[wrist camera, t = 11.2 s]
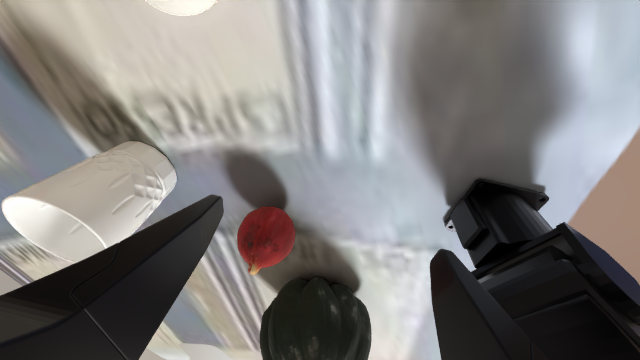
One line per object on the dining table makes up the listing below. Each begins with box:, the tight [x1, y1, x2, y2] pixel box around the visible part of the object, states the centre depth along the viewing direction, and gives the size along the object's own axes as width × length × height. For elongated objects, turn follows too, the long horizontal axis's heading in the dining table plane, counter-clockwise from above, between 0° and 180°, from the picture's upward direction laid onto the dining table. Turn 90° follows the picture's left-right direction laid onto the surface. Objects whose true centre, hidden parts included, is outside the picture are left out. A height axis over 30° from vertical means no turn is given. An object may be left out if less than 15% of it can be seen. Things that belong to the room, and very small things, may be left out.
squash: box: [260, 277, 371, 360], centre depth 32 cm, size 14×15×15 cm
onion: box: [237, 207, 295, 275], centre depth 25 cm, size 6×6×8 cm
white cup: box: [2, 141, 177, 263], centre depth 23 cm, size 8×8×10 cm
